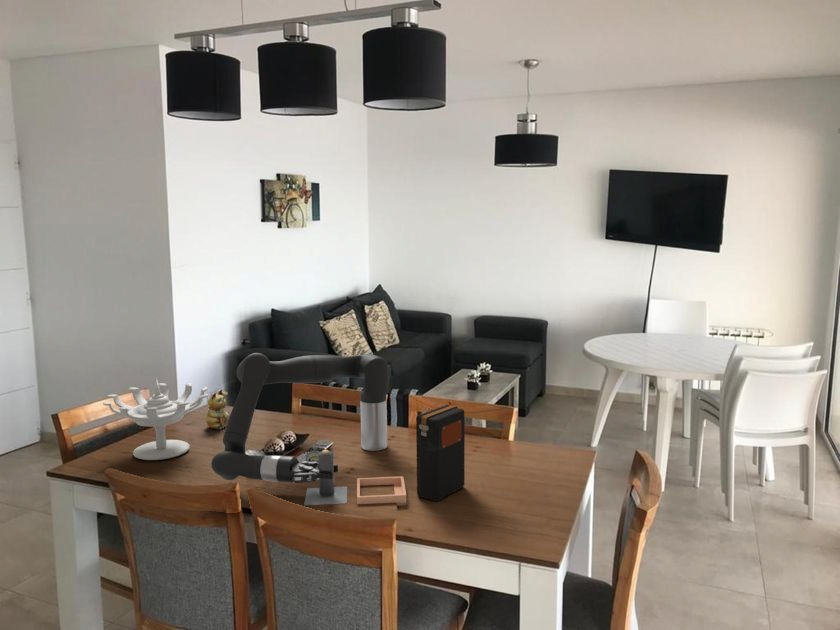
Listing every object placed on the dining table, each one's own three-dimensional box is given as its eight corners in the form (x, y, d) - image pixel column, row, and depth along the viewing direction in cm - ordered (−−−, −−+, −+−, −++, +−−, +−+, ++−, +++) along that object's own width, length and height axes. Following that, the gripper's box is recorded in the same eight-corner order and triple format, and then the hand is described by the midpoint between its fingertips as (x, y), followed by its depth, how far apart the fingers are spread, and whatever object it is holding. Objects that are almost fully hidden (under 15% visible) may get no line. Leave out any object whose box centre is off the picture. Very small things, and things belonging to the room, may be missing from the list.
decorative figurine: (220, 431, 262) (218, 393, 259) (200, 430, 263) (198, 392, 261) (232, 424, 271) (230, 387, 269) (213, 422, 273) (211, 386, 270)
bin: (357, 487, 207) (357, 478, 206) (403, 485, 208) (403, 476, 208) (357, 507, 193) (357, 497, 193) (406, 505, 194) (406, 495, 194)
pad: (307, 491, 205) (307, 488, 204) (347, 489, 206) (347, 486, 206) (304, 508, 193) (304, 505, 193) (346, 506, 194) (346, 503, 194)
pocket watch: (301, 482, 211) (300, 451, 210) (298, 472, 219) (297, 443, 218) (327, 479, 213) (326, 449, 212) (324, 470, 221) (323, 440, 220)
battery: (319, 490, 201) (318, 448, 199) (334, 489, 201) (333, 448, 199) (318, 496, 197) (317, 454, 195) (334, 495, 197) (332, 453, 195)
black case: (445, 480, 212) (445, 402, 208) (468, 487, 206) (468, 407, 203) (413, 496, 200) (412, 414, 196) (436, 504, 194) (436, 420, 191)
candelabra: (84, 466, 226) (77, 387, 222) (149, 433, 260) (144, 364, 256) (175, 475, 218) (170, 392, 214) (230, 439, 252) (226, 368, 248)
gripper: (269, 465, 193) (327, 468, 190) (287, 448, 207) (341, 450, 204) (270, 490, 194) (328, 494, 191) (288, 471, 208) (342, 474, 205)
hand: (335, 471), depth 198 cm, fingers closed on battery, 4 cm apart
